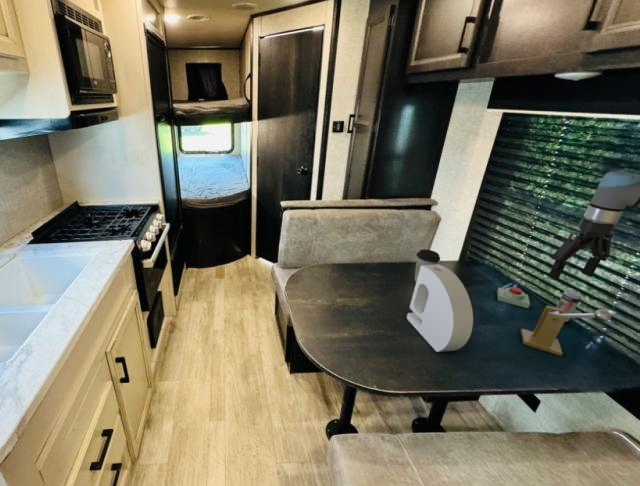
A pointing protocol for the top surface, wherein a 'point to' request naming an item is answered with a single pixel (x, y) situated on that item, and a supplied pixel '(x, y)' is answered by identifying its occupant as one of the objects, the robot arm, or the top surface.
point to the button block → (513, 297)
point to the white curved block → (441, 308)
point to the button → (515, 290)
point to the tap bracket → (546, 332)
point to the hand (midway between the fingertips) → (569, 276)
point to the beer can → (569, 302)
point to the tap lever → (588, 315)
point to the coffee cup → (426, 260)
